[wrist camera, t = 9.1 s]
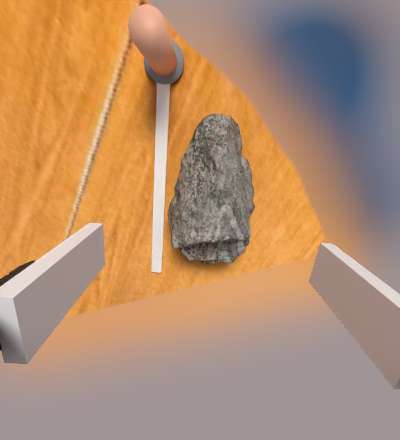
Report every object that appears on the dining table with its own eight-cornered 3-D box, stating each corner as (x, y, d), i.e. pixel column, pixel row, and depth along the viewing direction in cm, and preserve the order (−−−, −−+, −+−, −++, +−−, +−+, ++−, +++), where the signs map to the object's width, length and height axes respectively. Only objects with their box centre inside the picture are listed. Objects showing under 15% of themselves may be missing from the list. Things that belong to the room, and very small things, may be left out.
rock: (271, 251, 30) (230, 294, 23) (216, 242, 37) (171, 273, 30) (254, 106, 24) (194, 108, 18) (193, 125, 31) (132, 132, 24)
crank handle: (142, 269, 34) (124, 305, 27) (145, 37, 24) (119, -11, 17) (171, 272, 34) (161, 309, 27) (185, 41, 24) (176, -4, 17)
